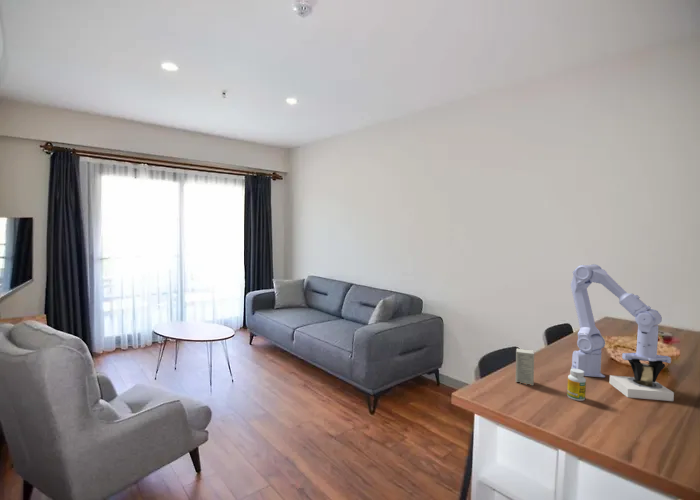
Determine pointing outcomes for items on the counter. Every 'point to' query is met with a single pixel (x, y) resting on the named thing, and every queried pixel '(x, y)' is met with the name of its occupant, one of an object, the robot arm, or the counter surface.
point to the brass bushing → (646, 375)
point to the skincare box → (525, 366)
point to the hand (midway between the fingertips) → (644, 380)
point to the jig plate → (640, 389)
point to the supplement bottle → (576, 385)
